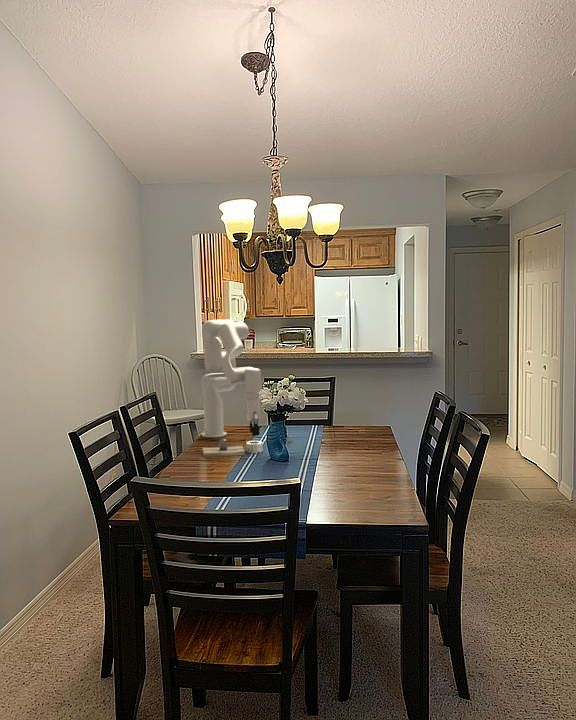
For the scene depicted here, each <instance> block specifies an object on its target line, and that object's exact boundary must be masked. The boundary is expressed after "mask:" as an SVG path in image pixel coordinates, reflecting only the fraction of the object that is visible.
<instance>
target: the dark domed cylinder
mask: <svg viewBox="0 0 576 720" xmlns="http://www.w3.org/2000/svg"><path fill="white" fill-rule="evenodd" d="M218 440H219V441H218V442H219V443H218V445H219V446H218V447H220V450H221V451H225V450H227V447H228V439H227V438H221V439H218Z"/></svg>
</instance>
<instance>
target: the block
mask: <svg viewBox="0 0 576 720" xmlns="http://www.w3.org/2000/svg"><path fill="white" fill-rule="evenodd" d="M202 454H203V455H202V456H203V458H210V457H211V458H212V457H213V458H215V457H230V456H233V457H234V456H245V454H246V451H245V450H244V447H243V445H233V446H227V450H225V451H221V450H220V447H219V446H218V447H217V446H215V447H202Z"/></svg>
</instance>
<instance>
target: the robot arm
mask: <svg viewBox="0 0 576 720" xmlns="http://www.w3.org/2000/svg"><path fill="white" fill-rule="evenodd" d="M249 333H250V332H249V327H248V325H247V324H246V323H245V322H244V321H240V320H238V319H210V320H206V321H205V322H203V323H202V327H201V336H202V339H203V344H204V351H203V352H204V355H203V356H204V358H203V359H204V368H205V369H206V371H208V372H215V373H207V374H205V375H203V376H202V377H201V380H200V386H201V389H202V397H203V419H204V432H202V433H201V436H202V437H203V438H209V439H210V438H222V437H224V436H225V437H226V436H227V434H228V433H227V431H224V407H223V406H224V404H223V399H222V397H221V396H220V394H219V393H222V392H230V391H232V390H234V389H235V387H236V385H242V384H243V385H244V400H246V420H247V421H248V422H249V432H250V433H251V435H252V436H253V437H256V436H258V437H259V436H260V435H261V434H260V424H259V423H260V420H261V417H260V415H261V412H260V408H261V407H260V400H261V399H260V398H259V392H260V391H261V392H262V372H261V369H260V368H258V367H257V368H256V367H252V366H241V367H237V363H236V362H237V361H236V358H237V357H239V356H241V354H242V353H244V349H245V346H244V345H243V343H242V340H246V339H247V338H248V337H249ZM220 339H221V340H220ZM222 345H223V347H224V351H222V348H223V347H222ZM218 371H219V372H218ZM220 371H221V372H220ZM222 371H223V372H222Z"/></svg>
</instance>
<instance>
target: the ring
mask: <svg viewBox="0 0 576 720" xmlns="http://www.w3.org/2000/svg"><path fill="white" fill-rule="evenodd" d="M245 444H246V446H245V447H246V452H247V453H249V454H259V453H262V452H263V442H262V440H261V441H260V440H250V441H246V443H245ZM258 452H259V453H258Z"/></svg>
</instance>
